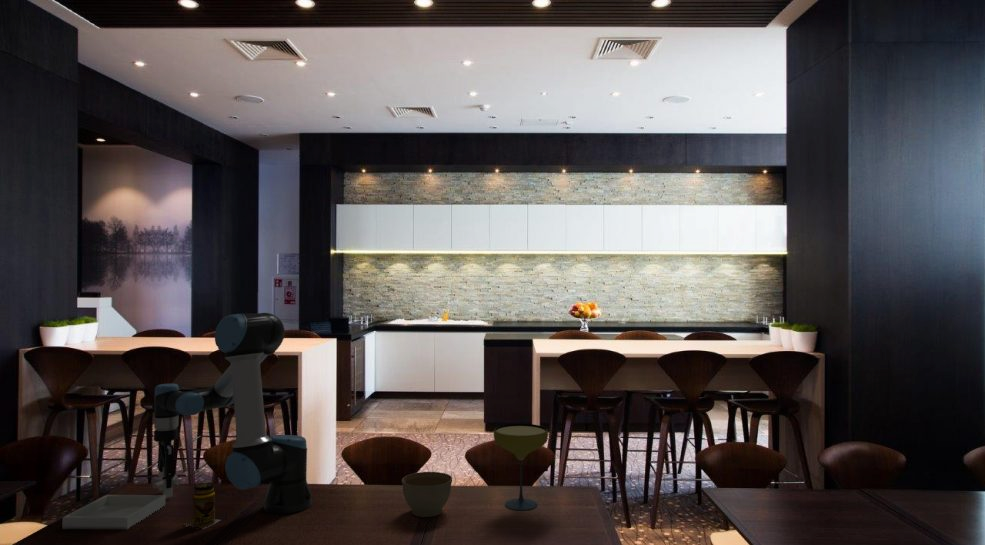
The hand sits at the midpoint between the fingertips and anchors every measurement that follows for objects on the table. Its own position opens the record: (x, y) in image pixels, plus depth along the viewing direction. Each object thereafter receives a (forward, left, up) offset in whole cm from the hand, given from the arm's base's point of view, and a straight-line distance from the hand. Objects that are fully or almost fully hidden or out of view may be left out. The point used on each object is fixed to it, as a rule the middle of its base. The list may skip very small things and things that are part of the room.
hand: (165, 493), depth 211 cm
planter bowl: (-71, -63, -1) cm, 95 cm away
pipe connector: (0, 0, -1) cm, 1 cm away
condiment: (-35, -4, -1) cm, 35 cm away
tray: (-12, +16, -1) cm, 20 cm away
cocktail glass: (-85, -91, -1) cm, 125 cm away
